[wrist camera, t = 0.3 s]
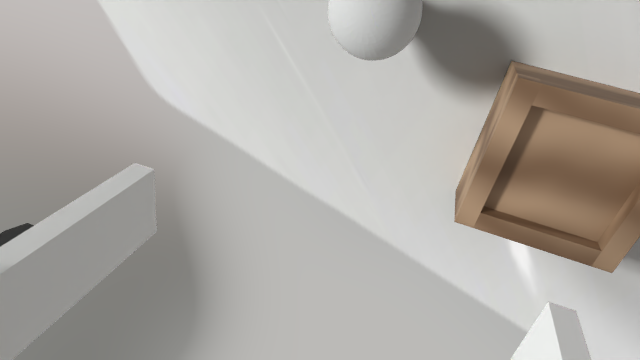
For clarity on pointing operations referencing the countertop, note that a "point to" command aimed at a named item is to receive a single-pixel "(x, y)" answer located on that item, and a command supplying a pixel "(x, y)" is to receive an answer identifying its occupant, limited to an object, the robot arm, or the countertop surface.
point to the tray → (557, 167)
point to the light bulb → (374, 26)
